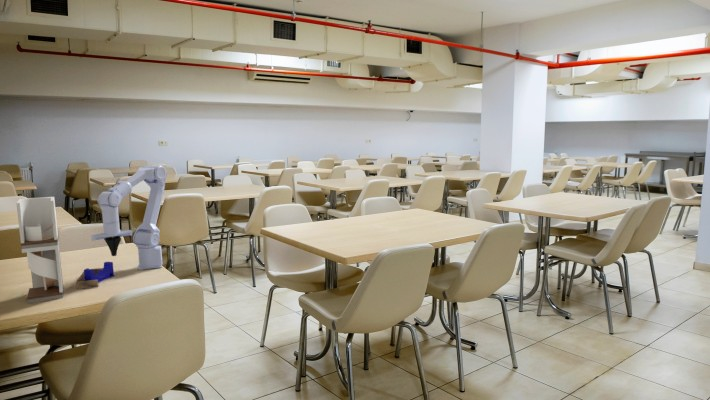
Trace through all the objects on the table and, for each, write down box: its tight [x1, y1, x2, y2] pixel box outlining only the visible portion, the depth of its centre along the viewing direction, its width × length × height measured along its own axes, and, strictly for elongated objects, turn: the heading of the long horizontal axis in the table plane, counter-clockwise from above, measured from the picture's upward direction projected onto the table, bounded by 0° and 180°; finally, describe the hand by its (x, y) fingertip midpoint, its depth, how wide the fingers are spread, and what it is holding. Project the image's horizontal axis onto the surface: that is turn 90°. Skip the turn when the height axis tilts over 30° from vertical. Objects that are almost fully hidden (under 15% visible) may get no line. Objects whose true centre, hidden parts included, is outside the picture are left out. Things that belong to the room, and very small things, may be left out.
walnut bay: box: [76, 267, 103, 289], centre depth 197 cm, size 7×18×3 cm, turn 18°
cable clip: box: [83, 261, 115, 283], centre depth 198 cm, size 12×4×6 cm, turn 165°
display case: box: [16, 196, 64, 304], centre depth 178 cm, size 11×11×35 cm
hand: (113, 255), depth 199 cm, fingers closed
